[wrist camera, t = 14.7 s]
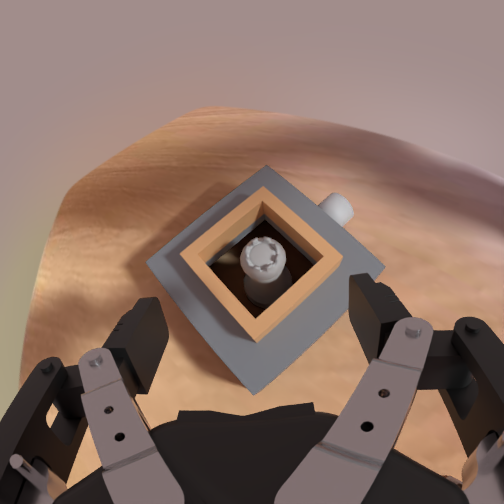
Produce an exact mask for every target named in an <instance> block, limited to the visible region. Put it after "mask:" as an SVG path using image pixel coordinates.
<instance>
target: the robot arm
mask: <svg viewBox="0 0 504 504" xmlns="http://www.w3.org/2000/svg"><path fill="white" fill-rule="evenodd" d="M348 309H349V318H350V321H351V324H352V326H353V328H354V331H355V333H356V335H357V337H358V340H359V342H360V344H361V347H362V349H363V351H364V353H365V356H366V358H367V360H368V363H369V366H368V368H367V370H366V372H365V374H364V375H363V377H362V379H361V381H360V382H359V384H358V386H357V388H356V389H355V391H354V393H353V394H352V396H351V398H350V399H349V401H348V402H347V404H346V406H345V407H344V409H343V410H342V412H341V414H340V415H339V416H338V415H334V414H330V413H325V412H315V410H314V404H313V402H311V403H303V404H296V405H287V406H279V407H275V408H272V409H269V410H265V411H261V412H258V413H254V414H250V415H246V416H239V415H233V414H227V413H221V412H215V411H179V413H178V417H177V420H174V421H170V422H167V423H164V424H161V425H159V426H157V427H155V428H153V429H151V427H150V426H149V424H148V422H147V420H146V418H145V416H144V415H143V413H142V411H141V409H140V407H139V405H138V403H137V401H136V400H135V396H136V394H148V392H149V389H150V387H151V384H152V381H153V379H154V376H155V373H156V371H157V368H158V366H159V363H160V360H161V358H162V355H163V353H164V350H165V348H166V345H167V342H168V339H169V331H168V327H167V324H166V321H165V318H164V314H163V311H162V308H161V305H160V302H159V300H158V298H157V297H150V298H140V299H139V300H138V301H137V303H136V304H135V306H134V307H133V309H132V310H130V311H128V312H127V313H126V314H125V315H123V316H122V317H121V319H120V320H119V322H118V323H117V325H116V326H115V328H114V329H113V331H112V332H111V334H110V336H109V337H108V339H107V340H106V342H105V343H104V345H103V346H102V348H96V349H93V350H90V351H88V352H87V353H85V354H84V355H83V356H82V357H81V358H80V360H79V363H78V365H73V366H68V367H64V365H63V363H62V361H61V360H60V359H59V358H57V357H50V358H47V359H44V360H42V361H41V362H40V363H38V364H37V366H36V367H35V368H34V370H33V371H32V373H31V374H30V375H29V377H28V378H27V380H26V381H25V383H24V384H23V386H22V388H21V389H20V391H19V392H18V394H17V395H16V397H15V398H14V400H13V402H12V403H11V405H10V406H9V408H8V410H7V412H6V413H5V415H4V416H3V418H2V420H1V422H0V504H504V344H503V343H502V342H501V341H500V339H499V338H498V337H497V336H496V334H495V333H494V332H493V331H492V330H491V328H490V327H489V326H488V325H487V324H486V323H485V322H484V321H482V320H481V319H478V318H475V317H463V318H460V319H459V320H457V321H456V323H455V326H454V330H444V331H437V330H433V328H432V326H431V324H430V323H429V322H427V321H425V320H423V319H421V318H415V317H412V316H411V314H410V313H409V312H408V310H407V309H406V308H405V306H404V305H403V304H402V302H401V301H399V298H398V297H397V296H395V293H394V292H393V291H392V289H391V288H390V287H388V286H386V285H385V284H383V283H381V282H380V283H375V282H374V280H373V279H372V278H371V276H370V275H369V274H368V273H361V274H354V275H350V276H349V306H348ZM474 378H475V379H474ZM433 389H438V391H439V393H440V395H441V397H442V399H443V401H444V403H445V406H446V408H447V410H448V412H449V414H450V417H451V419H452V421H453V423H454V426H455V428H456V430H457V433H458V435H459V437H460V440H461V442H462V445H463V447H464V450H465V452H466V455H467V457H468V459H467V460H466V462H465V463H464V465H463V468H462V481H463V484H462V489H461V488H460V487H459V486H458V485H457V484H455V483H454V482H452V481H450V480H448V479H447V478H445V477H443V476H441V475H439V474H437V473H435V472H434V471H432V470H430V469H428V468H426V467H425V466H423V465H421V464H419V463H417V462H416V461H414V460H412V459H411V458H409V457H407V456H405V455H404V454H402V453H400V452H399V451H397V450H395V449H394V447H395V445H396V443H397V440H398V438H399V436H400V433H401V431H402V428H403V426H404V424H405V421H406V419H407V416H408V414H409V411H410V409H411V406H412V403H413V401H414V398H415V395H416V392H417V390H433ZM52 403H53V404H54V406H55V407H56V408H57V410H58V411H59V412H58V414H57V416H56V418H55V420H54V422H53V424H52V426H51V428H49V426H48V425H47V422H46V415H47V412H48V410H49V409H50V407H51V405H52ZM88 424H89V428H90V431H91V434H92V437H93V440H94V443H95V446H96V449H97V452H98V455H99V458H100V461H101V463H102V466H101V467H100V468H98V469H97V470H95V471H94V472H92V473H91V474H90V475H88V476H87V477H85V478H84V479H82V480H81V481H79V482H78V483H76V484H75V485H73V486H72V487H70V488H69V489H67V486H66V483H67V480H68V478H69V475H70V472H71V469H72V466H73V463H74V461H75V458H76V455H77V453H78V450H79V447H80V445H81V442H82V439H83V437H84V434H85V432H86V429H87V427H88Z"/></svg>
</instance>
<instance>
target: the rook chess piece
mask: <svg viewBox="0 0 504 504" xmlns="http://www.w3.org/2000/svg"><path fill="white" fill-rule="evenodd" d="M240 261H241V266H242V268H243V270H244V272H245V273H246V275H245V278H244V289H245V293H246V295H247V297H248V299H249V300H250V301H251V302H252V303H253V304H254V305H256V306H258V307H261V308H265V309H267V308H268V307H270V306H271V305H272V304H273V303H274V302H275V301H276V300H277V299H278V298H280V297H281V296H282V295H283V294H284V293H285V292H286V291H287V290H288V289H289V288H290V287H292V286H293V284H292V277H291V274H290V272H289V270H288V269H287V267H286V266H284V265H285V262H286V254H285V251H284V249H283V247H282V245H281V244H280V243H278V242H277V241H275V240H274V239H271V238H269V237H265V236H264V238H257V237H256V238H254V239H252V240H251V241H250V242H249V243H248V244H247V245H246V246H245V247H244V248H243V250H242V253H241V256H240Z"/></svg>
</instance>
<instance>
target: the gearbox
mask: <svg viewBox="0 0 504 504" xmlns="http://www.w3.org/2000/svg"><path fill="white" fill-rule="evenodd" d="M353 215H354V212H353V208H352V206H351V205H350V203H349V202H348V201H347V199H346V198H344V197H343V196H342V195H340V194H338V193H331V194H330V195H329V196H328V197H327V198H326V199H325V200H323V201H322V202H321V203H320V204H319V205H318V206H317V205H316V204H315V203H313V202H312V201H311V200H310V199H309V198H307V197H306V196H305V195H304V194H303V193H301V192H300V191H299V190H298V189H296V188H295V187H294V186H293V185H292V184H290V183H289V182H288V181H287V180H285V179H284V178H283V177H282V176H280V175H279V174H278V173H276V172H275V171H274V170H273V169H271V168H270V167H269V166H268V165H266V166H265V167H263V168H262V169H261V170H259V171H258V172H257V173H255V174H254V175H253V176H251V177H250V178H249V179H247V180H246V181H245V182H243V183H242V184H241V185H239V186H238V187H237V188H235V189H234V190H233V191H232V192H230V193H229V194H228V195H226V196H225V197H224V198H223V199H221V200H220V201H219V202H218V203H216V204H215V205H214V206H212V207H211V208H210V209H209V210H207V211H206V212H205V213H204V214H202V215H201V216H200V217H199V218H198V219H196V220H195V221H194V222H193V223H191V224H190V225H189V226H188V227H186V228H185V229H184V230H183V231H182V232H180V233H179V234H178V235H177V236H176V237H174V238H173V239H172V240H171V241H170V242H168V243H167V244H166V245H165V246H164V247H162V248H161V249H160V250H159V251H158V252H157V253H155V254H154V255H153V256H152V257H151V258H150V259H148V260H147V261H146V264H147V265H148V267H149V268H150V269H151V271H152V272H153V273H154V275H155V276H156V278H157V279H158V280H159V282H160V283H161V284H162V286H163V287H164V288H165V290H166V291H167V292H168V294H169V295H170V296H171V298H172V299H173V300H174V302H175V303H176V304H177V306H178V307H179V308H180V309H181V311H182V312H183V313H184V315H185V316H186V317H187V318H188V320H189V321H190V322H191V323H192V325H193V326H194V327H195V328H196V330H197V331H198V332H199V333H200V335H201V336H202V337H203V338H204V339H205V341H206V342H207V343H208V344H209V345H210V347H211V348H212V349H213V350H214V351H215V353H216V354H217V355H218V356H219V357H220V358H221V360H222V361H223V362H224V363H225V364H226V365H227V367H228V368H229V369H230V370H231V371H232V372H233V373H234V375H235V376H236V377H237V378H238V379H239V380H240V381H241V382H242V384H243V385H244V386H245V387H246V388H247V389H248V390H249V391H250V392H251V393H252V395H253V396H254V395H255V394H257V393H259V392H260V391H261V390H262V389H264V388H265V387H266V386H267V385H268V384H269V383H271V382H272V381H273V380H274V379H275V378H276V377H277V376H279V375H280V374H281V373H282V372H283V371H284V370H285V369H287V368H288V367H289V366H290V365H291V364H292V363H293V362H294V361H295V360H296V359H298V358H299V357H300V356H301V355H302V354H303V353H304V352H305V351H306V350H307V349H308V348H309V347H310V346H312V345H313V344H314V343H315V342H316V341H317V340H318V339H319V338H320V337H321V336H322V335H323V334H324V333H325V332H326V331H327V330H328V329H329V328H330V327H331V326H332V325H333V324H334V323H335V322H336V321H337V320H338V319H339V318H340V317H341V316H342V315H343V314H344V313H345V312H346V311H347V310H348V306H349V276H350V275H354V274H361V273H368V274H369V275H370V276H371V278H372V279H373V280H374V281H375V279H376V278H377V277H378V276H379V275H380V273H381V272H382V271H383V270H384V268H385V266H384V265H383V264H382V263H381V262H380V261H379V260H378V259H377V258H376V257H375V256H374V255H373V254H372V253H370V252H369V251H368V250H367V249H366V248H365V247H364V246H363V245H362V244H361V243H360V242H358V241H357V240H356V239H355V238H354V237H353V236H352V235H351V234H349V233H348V232H347V231H346V230H345V229H344V228H343V226H344V225H345V224H346V223H347V222H348V221H349V220H350V219H351V218H352V217H353ZM264 220H266V221H267V222H268V223H270V224H271V225H272V226H273V227H274V228H275V229H276V230H277V231H278V232H279V233H280V234H281V235H283V236H284V237H285V238H286V239H287V240H288V241H289V242H290V243H291V244H292V245H293V246H294V247H295V248H296V249H298V250H299V251H300V252H301V253H302V254H303V255H304V256H305V257H306V258H307V259H308V260H309V261H310V262H311V263H312V264H313V265H314V266H313V267H312V268H311V269H310V270H309V271H308V272H307V273H306V274H305V275H303V276H302V277H301V278H300V279H299V280H298V281H297V282H296V283H295V284H294V285H293V286H292V287H290V288H289V289H288V290H287V291H286V292H285V293H284V294H283V295H282V296H281V297H280V298H278V299H277V300H276V301H275V302H274V303H273V304H272V305H271V306H270V307H268V308H267V309H266V310H265V311H264V312H263V313H262V314H261V315H259V316H258V317H257V318H256V319H255V318H254V317H253V316H252V315H251V314H250V313H249V312H248V310H247V309H246V308H245V307H244V306H243V305H242V304H241V303H240V302H239V301H238V299H237V298H236V297H235V296H234V295H233V294H232V293H231V292H230V291H229V289H228V288H227V287H226V286H225V285H224V284H223V283H222V282H221V281H220V279H219V278H218V277H217V276H216V275H215V274H214V273H213V271H212V270H211V269H210V268H209V266H210V265H211V264H213V263H214V262H215V261H216V260H217V259H219V258H220V257H221V256H222V255H223V254H225V253H226V252H227V251H228V250H229V249H230V248H232V247H233V246H234V245H235V244H236V243H238V242H239V241H240V240H241V239H242V238H244V237H245V236H246V235H247V234H248V233H250V232H251V231H252V230H253V229H254V228H256V227H257V226H258V225H259V224H260V223H262V222H263V221H264Z"/></svg>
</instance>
